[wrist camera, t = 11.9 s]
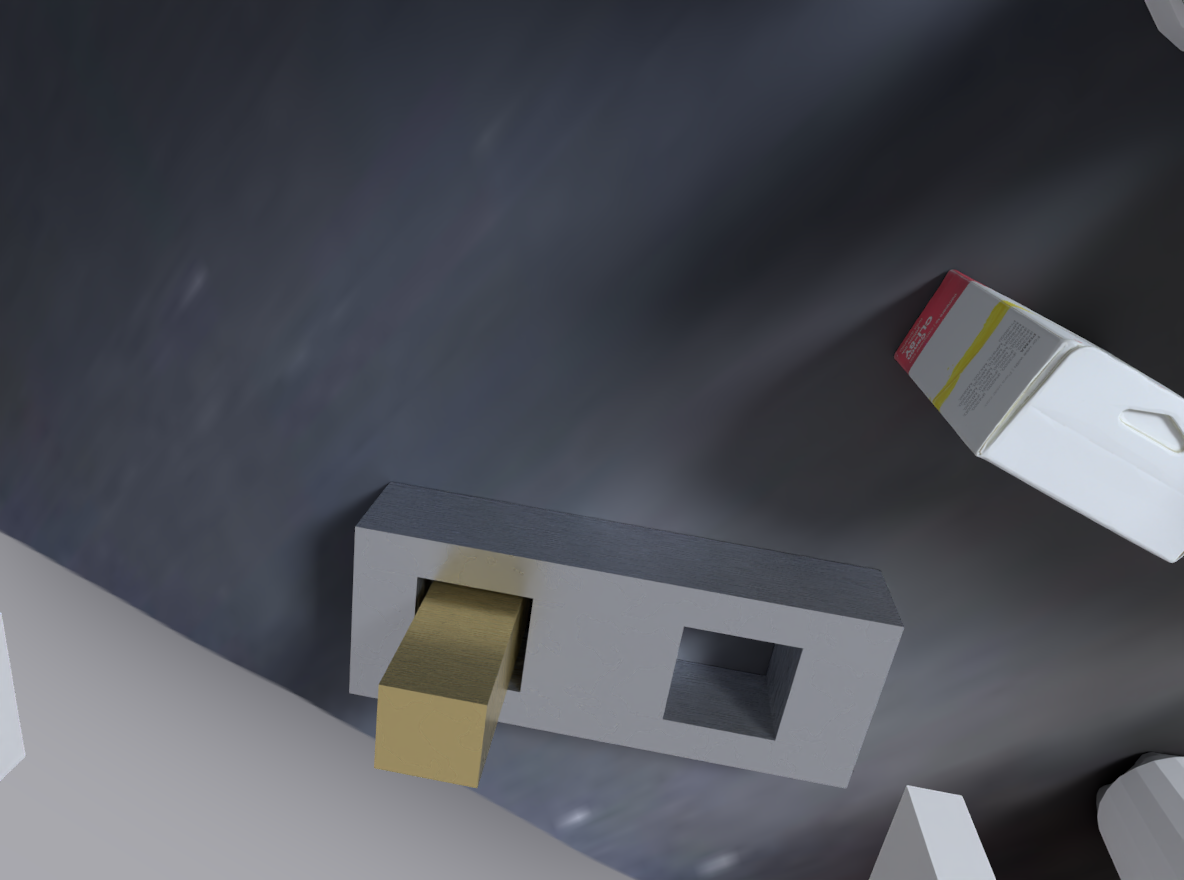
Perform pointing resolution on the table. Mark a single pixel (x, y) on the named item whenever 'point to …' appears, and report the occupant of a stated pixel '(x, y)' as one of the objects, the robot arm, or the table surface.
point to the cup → (1145, 819)
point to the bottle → (1169, 19)
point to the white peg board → (640, 629)
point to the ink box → (1054, 411)
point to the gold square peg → (449, 683)
